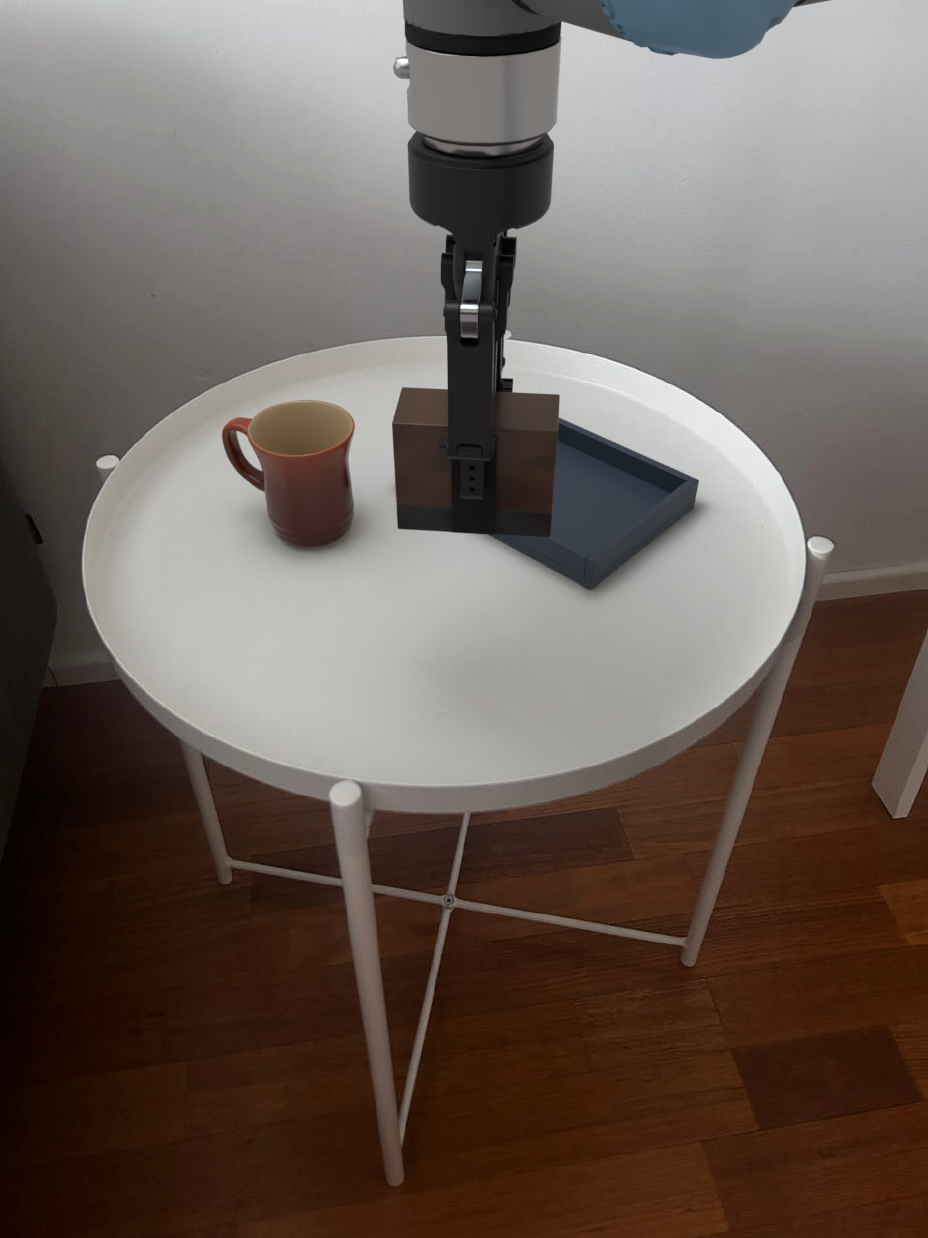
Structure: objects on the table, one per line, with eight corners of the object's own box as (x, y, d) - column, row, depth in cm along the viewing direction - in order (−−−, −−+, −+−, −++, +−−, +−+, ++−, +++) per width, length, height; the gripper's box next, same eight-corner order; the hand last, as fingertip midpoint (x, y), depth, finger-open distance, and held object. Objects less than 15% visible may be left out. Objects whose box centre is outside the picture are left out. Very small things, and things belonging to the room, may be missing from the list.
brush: (552, 498, 69) (559, 393, 63) (550, 537, 65) (558, 431, 60) (406, 490, 69) (401, 386, 64) (397, 529, 66) (391, 422, 61)
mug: (379, 511, 91) (372, 411, 84) (334, 568, 85) (323, 465, 78) (263, 482, 94) (247, 384, 87) (212, 535, 88) (191, 434, 81)
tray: (694, 507, 91) (699, 479, 89) (590, 590, 83) (594, 561, 81) (511, 422, 102) (513, 396, 100) (403, 488, 94) (402, 461, 92)
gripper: (428, 82, 58) (435, 433, 74) (381, 190, 45) (402, 588, 61) (559, 85, 57) (538, 438, 73) (549, 196, 45) (526, 596, 60)
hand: (476, 506), depth 67 cm, fingers closed on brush, 4 cm apart
